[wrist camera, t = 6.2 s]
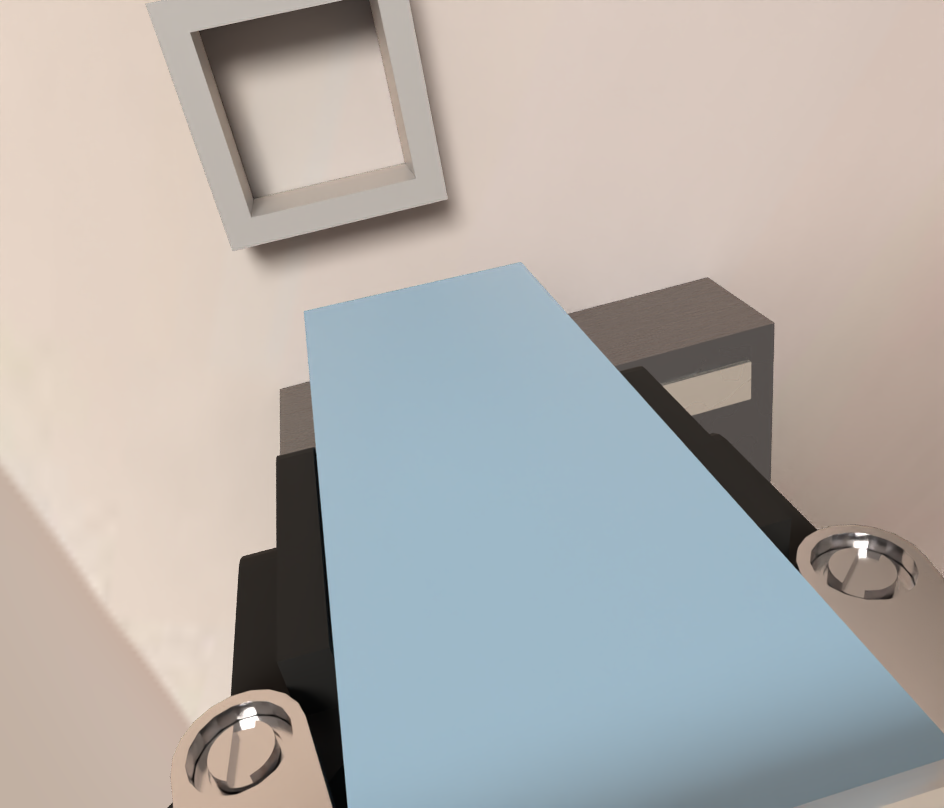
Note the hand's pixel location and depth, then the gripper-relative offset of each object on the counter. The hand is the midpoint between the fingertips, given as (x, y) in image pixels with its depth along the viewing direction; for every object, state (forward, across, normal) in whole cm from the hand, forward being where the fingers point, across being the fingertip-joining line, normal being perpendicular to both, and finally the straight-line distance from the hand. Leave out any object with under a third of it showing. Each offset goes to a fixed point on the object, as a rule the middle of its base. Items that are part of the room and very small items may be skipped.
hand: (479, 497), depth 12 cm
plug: (+4, 0, 0) cm, 4 cm away
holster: (+18, +1, -4) cm, 19 cm away
